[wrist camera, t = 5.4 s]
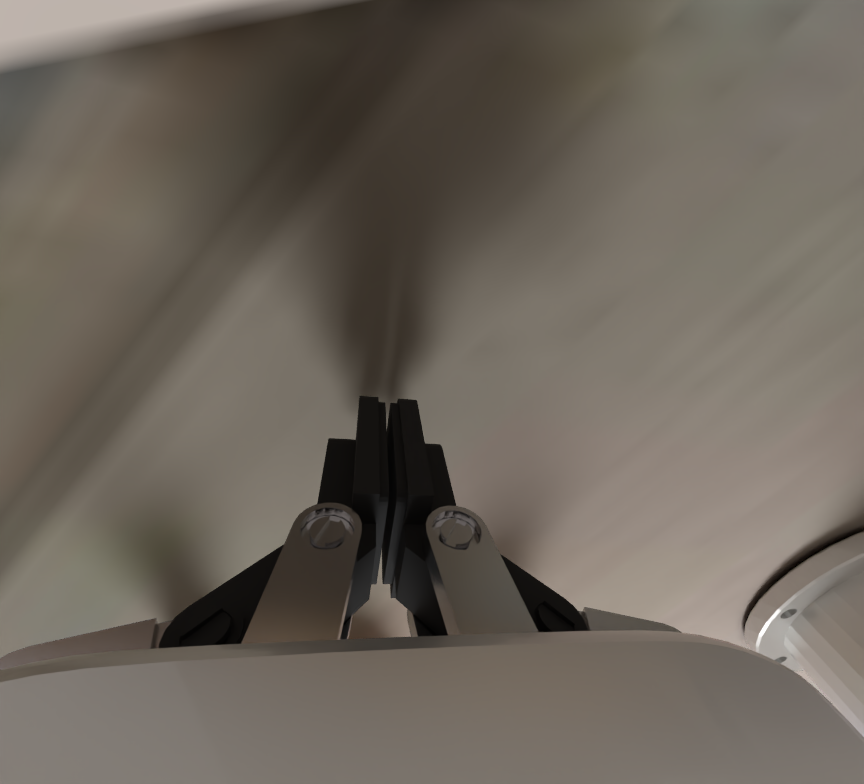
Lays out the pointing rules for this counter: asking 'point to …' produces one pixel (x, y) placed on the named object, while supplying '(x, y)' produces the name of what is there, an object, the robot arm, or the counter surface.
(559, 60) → the counter surface
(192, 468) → the counter surface
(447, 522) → the robot arm
